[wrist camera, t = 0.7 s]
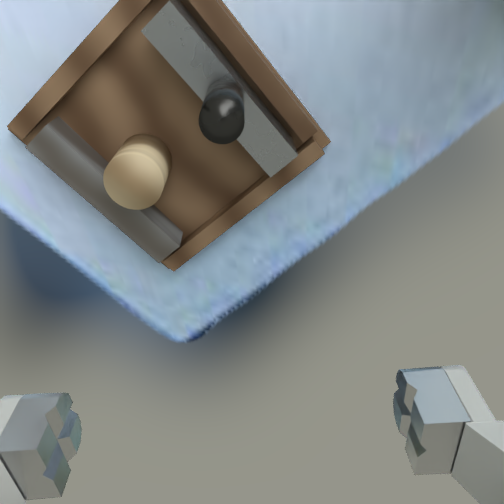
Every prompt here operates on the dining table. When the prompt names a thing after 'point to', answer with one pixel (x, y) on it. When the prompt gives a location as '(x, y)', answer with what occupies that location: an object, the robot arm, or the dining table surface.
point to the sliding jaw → (219, 89)
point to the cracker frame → (161, 128)
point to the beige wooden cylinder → (138, 172)
